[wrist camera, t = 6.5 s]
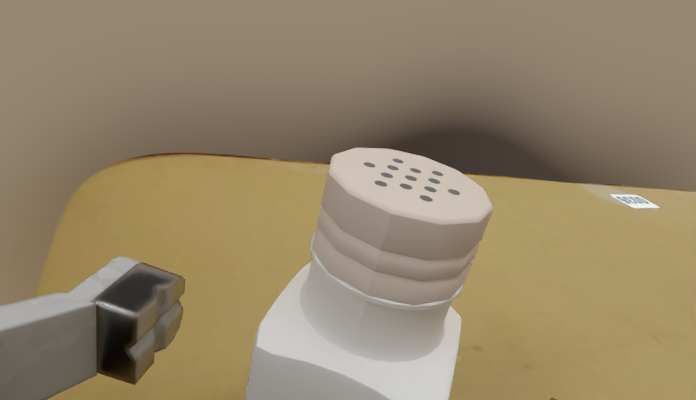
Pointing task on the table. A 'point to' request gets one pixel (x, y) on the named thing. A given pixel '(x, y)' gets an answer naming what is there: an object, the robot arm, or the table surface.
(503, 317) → the table surface
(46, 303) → the robot arm
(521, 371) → the table surface
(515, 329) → the table surface
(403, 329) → the pepper shaker
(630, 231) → the table surface
